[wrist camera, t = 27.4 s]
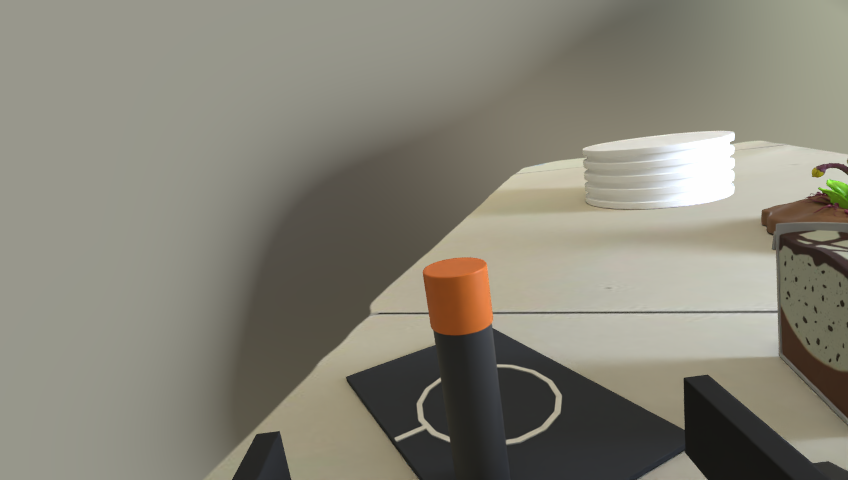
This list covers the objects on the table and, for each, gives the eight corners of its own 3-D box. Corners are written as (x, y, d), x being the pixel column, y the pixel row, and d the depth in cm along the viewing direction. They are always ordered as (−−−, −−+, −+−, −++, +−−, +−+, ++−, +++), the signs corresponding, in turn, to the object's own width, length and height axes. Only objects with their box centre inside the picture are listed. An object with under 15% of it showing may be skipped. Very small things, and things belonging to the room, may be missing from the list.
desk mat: (486, 570, 22) (485, 561, 22) (346, 380, 42) (345, 375, 42) (697, 442, 28) (697, 434, 28) (489, 329, 48) (488, 324, 48)
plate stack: (578, 192, 117) (575, 146, 115) (703, 179, 111) (702, 129, 109) (596, 215, 91) (593, 154, 88) (761, 198, 85) (762, 133, 82)
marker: (475, 520, 24) (441, 281, 22) (445, 483, 27) (412, 268, 24) (525, 493, 26) (499, 264, 23) (491, 460, 29) (465, 253, 26)
